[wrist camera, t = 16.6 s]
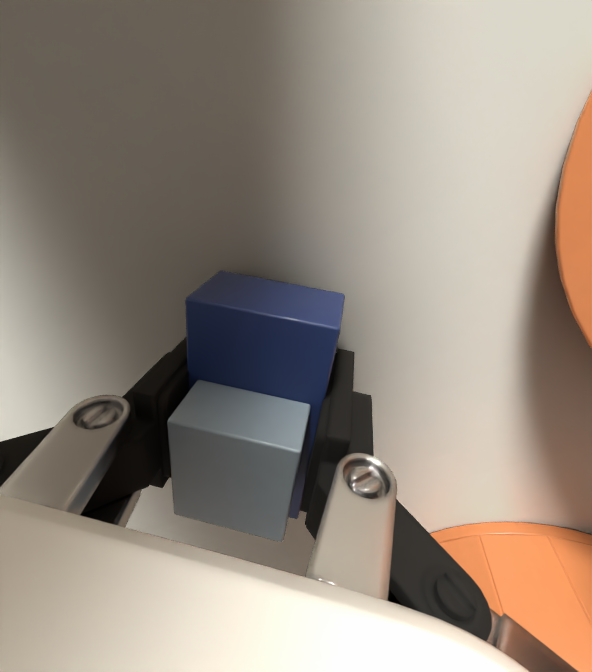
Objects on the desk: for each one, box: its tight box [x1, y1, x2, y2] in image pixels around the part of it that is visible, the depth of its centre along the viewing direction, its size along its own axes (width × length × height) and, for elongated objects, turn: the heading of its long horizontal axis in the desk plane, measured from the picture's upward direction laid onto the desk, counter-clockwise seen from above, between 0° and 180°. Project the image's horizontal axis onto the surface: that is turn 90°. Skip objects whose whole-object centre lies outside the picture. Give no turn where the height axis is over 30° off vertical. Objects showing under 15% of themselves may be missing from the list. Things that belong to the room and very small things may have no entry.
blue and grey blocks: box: [167, 271, 345, 542], centre depth 10 cm, size 7×4×4 cm, turn 173°
